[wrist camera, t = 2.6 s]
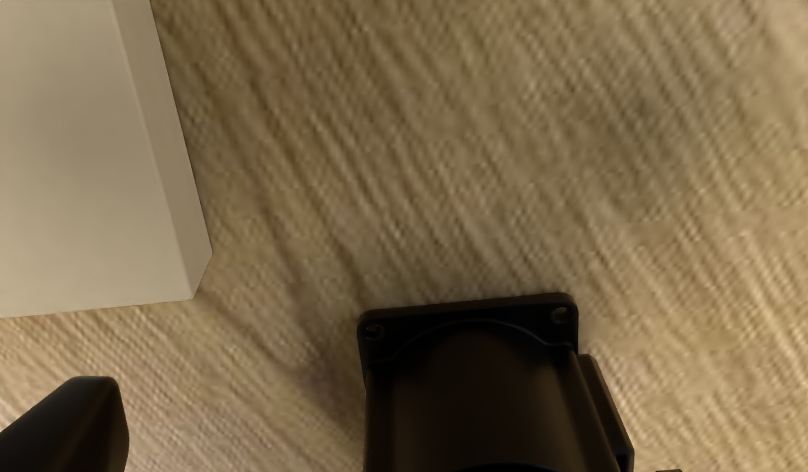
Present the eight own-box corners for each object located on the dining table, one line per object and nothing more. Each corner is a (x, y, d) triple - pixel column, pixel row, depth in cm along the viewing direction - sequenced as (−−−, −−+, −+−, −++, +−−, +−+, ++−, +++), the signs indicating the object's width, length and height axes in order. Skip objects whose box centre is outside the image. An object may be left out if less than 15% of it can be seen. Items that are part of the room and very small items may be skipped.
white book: (5, 274, 21) (-42, 325, 18) (-133, -64, 16) (-216, -53, 14) (214, 253, 20) (192, 301, 18) (127, -92, 16) (86, -86, 14)
